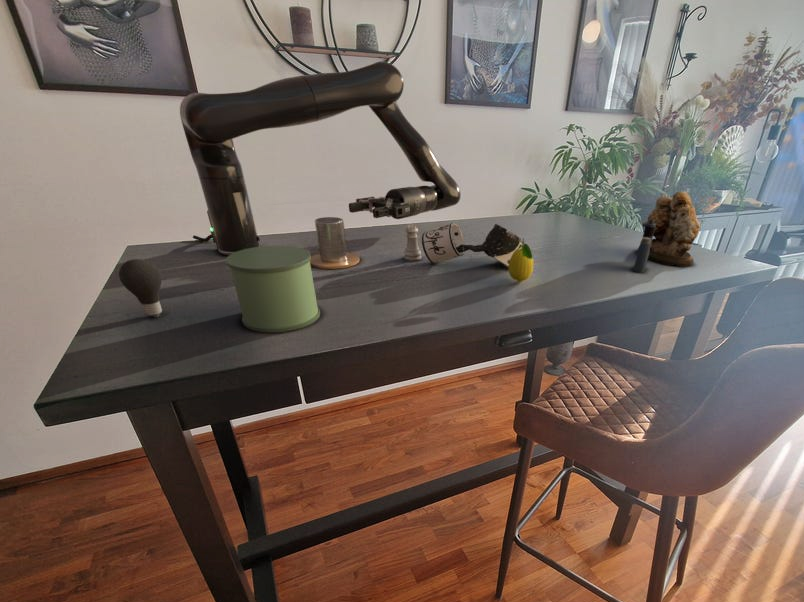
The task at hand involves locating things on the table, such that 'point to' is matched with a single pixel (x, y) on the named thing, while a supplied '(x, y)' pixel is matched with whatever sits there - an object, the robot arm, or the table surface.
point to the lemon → (521, 263)
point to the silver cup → (331, 239)
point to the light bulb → (143, 283)
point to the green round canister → (274, 288)
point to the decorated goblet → (451, 245)
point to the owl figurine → (673, 230)
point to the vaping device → (644, 247)
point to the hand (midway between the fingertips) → (361, 210)
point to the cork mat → (318, 263)
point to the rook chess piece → (412, 244)
